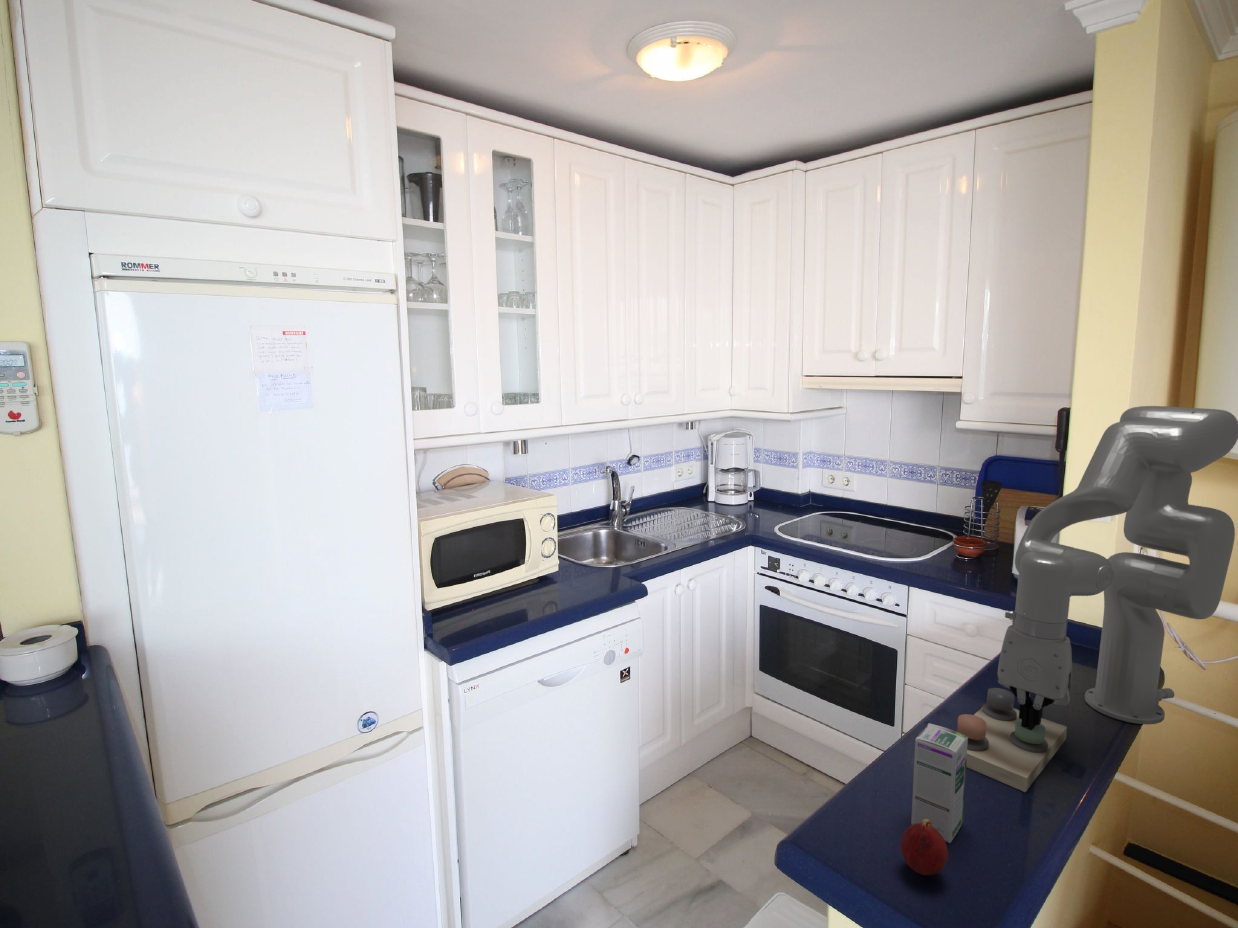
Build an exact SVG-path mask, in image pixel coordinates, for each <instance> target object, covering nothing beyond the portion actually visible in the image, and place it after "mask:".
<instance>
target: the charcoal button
mask: <svg viewBox="0 0 1238 928" xmlns="http://www.w3.org/2000/svg"><path fill="white" fill-rule="evenodd" d="M1015 697H1016V696H1015V695H1014V693H1013V692H1012V691H1011V690H1010V691H1009V690H1008V689H1004V688H1002V687H1001V688H999V687H990V688H988V689H987V696H986V703H988V704H989V705H990V706H991V707H993V708H996V709H999V710H1005V711H1008V710H1012V709H1013V708H1014V706H1015Z"/></svg>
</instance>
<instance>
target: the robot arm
mask: <svg viewBox="0 0 1238 928" xmlns="http://www.w3.org/2000/svg"><path fill="white" fill-rule="evenodd" d="M1237 441H1238V419H1237V417H1236V416H1235V415H1234V414H1233V413H1231V412H1230V411H1227V410H1224V409H1216V408H1203V407H1202V408H1199V407H1184V406H1182V407H1179V406H1166V405H1165V406H1164V405H1163V406H1161V405H1144V406H1142V405H1141V406H1135V407H1131V408H1128V409H1126V410H1125V411H1124V412H1122V414H1121V416H1120V418H1119V421H1118V422H1115V423H1112V424H1111V425H1109V426H1108V427H1107V428H1106V429H1105V430H1104V432H1103V433H1102V436H1101V438H1100V439H1099V442H1098V444H1097V446H1096V448H1095V450H1094V451H1093V454H1092V457H1091V459H1090V460H1089V463H1088V465H1087V466H1086V469H1085V471H1084V473H1083V474H1082V477H1081V479H1080V481H1079V483H1078V485H1077V487H1076V488H1075V489H1074V490H1073V491H1071V492H1070V493H1067V494H1065V495H1063V496H1061V497H1059V498H1058V499H1055V501H1052V502H1051V503H1050V504H1048V505H1047V506H1045V507H1044V508H1043V509H1042V510H1040V511H1039V512H1037V513H1036V514H1035V515H1034V516H1033V518H1032V519H1031V520H1030V522H1029V524H1028V525H1027V527H1026V529H1025V531H1024V533H1023V535H1022V537H1021V539H1020V541H1019V544H1018V546H1017V549H1016V551H1015V555H1014V556H1015V557H1014V566H1015V569H1016V571H1017V572H1018V579H1017V588H1016V599H1015V607H1014V610H1005V614H1004V617H1005V619H1009V620H1010V621H1011V623H1012V624H1011V625H1009V626H1007V628H1006V632H1005V634H1004V638H1003V641H1002V644H1001V650H1000V656H999V660H998V665H997V666H998V667H997V678H998V679H997V683H998V684H999V685H1001V686H1003V687H1005V688H1007V690H1008V689H1009V690H1010V692H1011V693H1013V694H1014V696H1015V697H1016V699H1017V702H1018V703H1019V709H1018V710H1019V719H1022V722H1021V726H1022V727H1024V728H1025V727H1027V728H1028V729H1030V730H1032V729H1033V728H1034V727H1035V726H1036V725H1040V723H1041V718H1043V717H1042V716H1043V708H1045V707H1048V706H1050V705H1060V706H1068V705H1069V704H1070V703H1071V695H1070V690H1071V687H1072V678H1073V677H1072V676H1073V659H1072V657H1073V656H1072V655H1073V654H1072V653H1073V651H1072V645H1071V640H1070V637H1068V636H1067V628H1068V619H1069V612H1070V611H1069V610H1070V603H1071V597H1088V596H1089V597H1091V596H1095V595H1098V594H1101V593H1103V605H1104V606H1103V616H1102V617H1103V619H1102V628H1101V637H1100V644H1099V654H1098V662H1097V669H1096V670H1097V671H1096V679H1095V681H1096V682H1095V687H1092V688H1089V689H1087V690H1086V691H1085V693H1084V700H1085V702H1086V704H1088V705H1089V707H1091V708H1092V709H1093V710H1096V711H1097V712H1099V713H1100V714H1103V715H1105V716H1107V717H1110V718H1113V719H1116V720H1118V721H1123V722H1126V723H1131V724H1137V725H1157V724H1159V723H1161V722H1163V721H1164V720H1165V715H1166V713H1165V710H1164V709H1163V707H1161V705H1160V702H1161V701H1162V700H1166V699H1173V698H1174V697H1175V692H1174V690H1173V689H1171V687H1164V688H1158V687H1159V680H1160V672H1161V665H1162V658H1163V657H1162V656H1163V650H1164V640H1165V626H1164V622H1163V621H1162V618H1161V616H1160V615H1159V614H1160V613H1158V611H1160V612H1166V613H1170V614H1173V615H1177V616H1179V617H1183V618H1187V619H1188V618H1189V619H1193V620H1205V619H1209V618H1210V617H1211V616H1213V615H1214V614H1215V612H1216V611H1217V609H1218V608H1219V605H1220V601H1221V599H1222V593H1223V590H1224V586H1225V581H1226V578H1227V573H1228V570H1229V566H1230V562H1231V558H1232V554H1233V549H1234V544H1235V537H1236V529H1235V523H1234V521H1233V519H1232V517H1231V516H1230V515H1229V514H1228V513H1226V512H1225V511H1222V510H1221V509H1217V508H1213V507H1208V506H1201V505H1196V504H1189V496H1190V491H1191V488H1192V483H1193V476H1192V473H1195V472H1198V471H1200V470H1202V469H1204V468H1206V467H1208V466H1210V465H1211V464H1213V463H1215V462H1216V461H1219V459H1220V460H1221V458H1223V457H1225V456H1226V455H1227V454H1229V453H1230V452H1231V451H1232V449H1234V448H1235V445H1236V443H1237ZM1123 514H1125V517H1124V522H1123V533H1124V537H1125V538H1126V540H1127V541H1128V542H1129V543H1131V544H1133V545H1136V546H1139V547H1143V548H1148V549H1151V550H1156V551H1159V552H1165V553H1170V554H1175V555H1180V556H1183V557H1184V556H1185V557H1187V558H1188V562H1189V564H1187V563H1183V562H1179V561H1174V560H1170V559H1166V558H1162V557H1156V556H1153V555H1147V554H1142V553H1137V552H1131V551H1129V552H1127V551H1126V552H1125V551H1124V552H1118V553H1114V554H1113V555H1111V556H1109V557H1108V558H1107V557H1105V556H1103V555H1101V554H1099V553H1096V552H1093V551H1090V550H1086V549H1083V548H1082V549H1080V548H1078V547H1077V548H1076V547H1073V546H1070V545H1069V546H1068V545H1064V544H1060V543H1055V542H1052V540H1053V539H1054V538H1055V537H1056V535H1057V534H1059V533H1060V532H1061V531H1062V530H1064V529H1066V528H1068V527H1069V526H1072V525H1074V524H1078V523H1081V522H1086V521H1091V520H1096V519H1102V518H1108V517H1113V516H1119V515H1123ZM1157 610H1158V611H1157ZM1031 694H1032V695H1033V694H1034V695H1035V697H1034V700H1033V699H1032V698H1031V697H1032V696H1031Z"/></svg>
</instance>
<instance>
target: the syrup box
mask: <svg viewBox="0 0 1238 928" xmlns="http://www.w3.org/2000/svg"><path fill="white" fill-rule="evenodd" d="M914 743H915V744H914V745H915V746H914V759H913V761H914V762H913V776H912V778H913V781H912V800H911V801H912V803H911V819H910V820H911V821H910V822H911V823H910V826H911V825H913V824H916V823H921V822H922V821H923V819H929V820H930V821H931V822H932V825H931V826H932V827H934V828H935V829H936V830H937V831H938V832H939V833H940V834H941V835H942V837H943V838H944V840H945V843H948V844H951V843H952V842H953V840H954V839H955V837H956V835H957V834H958V832H959V830H960V828H961V827H962V825H963V823H964V807H965V805H964V804H965V793H966V792H965V791H966V790H965V789H966V774H967V767H966V761H967V744H968V737H967V736H965V735H963V734H961V733H958V732H956V730H953V729H950V728H949V727H944V726H941V725H937V724H933V723H930V722H928V724H927V725H926V726H925V728H923V729H922V730H921V732H920V733H919V734H918V736H916V738H915V740H914Z"/></svg>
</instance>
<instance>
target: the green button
mask: <svg viewBox="0 0 1238 928" xmlns="http://www.w3.org/2000/svg"><path fill="white" fill-rule="evenodd" d="M1021 722H1022V719H1017V720H1016V723H1015V735H1016V737H1018V738H1019V739H1021V740H1022V741H1025V742H1028V743H1032V744H1041V743H1043V742H1044V738H1045V727H1044V725H1042V724H1041V723H1040V725H1036V726H1035V727H1034V728H1033V729H1032V730H1030V729H1028V728H1027V727H1025V728H1024V727H1022V726H1021Z"/></svg>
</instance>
